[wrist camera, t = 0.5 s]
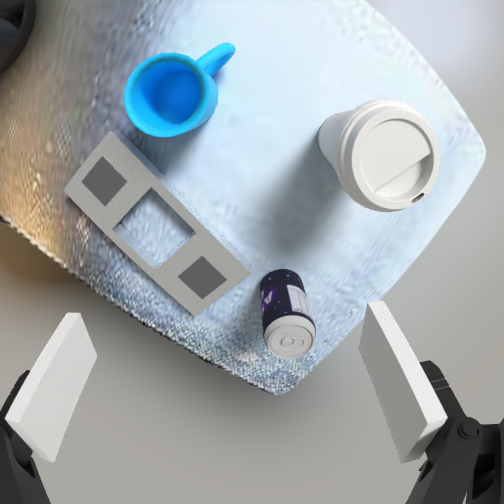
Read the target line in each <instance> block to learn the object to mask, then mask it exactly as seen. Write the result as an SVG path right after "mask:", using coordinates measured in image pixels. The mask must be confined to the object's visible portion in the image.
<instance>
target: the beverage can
mask: <svg viewBox="0 0 504 504" xmlns="http://www.w3.org/2000/svg"><path fill="white" fill-rule="evenodd" d="M260 295H261V310H262V324H263V338H264V342H265V344H266V345H267V347H268V348H269V350H270V352H271V353H272V354H273V355H275V356H276V357H279V358H282V359H295V358H299V357H301V356H303V355H305V354H306V353H307V352H309V351H310V349H311V348H312V346H313V344H314V338H315V335H316V329H315V325H314V321H313V318H312V314H311V311H310V307H309V304H308V300H307V297H306V293H305V290H304V286H303V283H302V280H301V278H300V277H299V275H298V274H296V273H295V272H293V271H291V270H287V269H278V270H274V271H272V272H270V273H269V274H267V275H266V276H265V277H264V278H263V280H262V282H261V285H260Z"/></svg>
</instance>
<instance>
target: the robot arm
mask: <svg viewBox="0 0 504 504" xmlns="http://www.w3.org/2000/svg"><path fill="white" fill-rule="evenodd" d="M35 9H36V8H35V0H0V74H1V73H2V72H3V71H5V70H6V69H7V68H8V67H9V66H10V65H11V64H12V63H13V62H14V61H15V59H16V58H17V57H18V55H19V54H20V52H21V51H22V49H23V47H24V46H25V44H26V42H27V40H28V37H29V35H30V32H31V30H32V27H33V23H34V18H35ZM359 350H360V353H361V355H362V358H363V360H364V363H365V365H366V368H367V370H368V373H369V375H370V378H371V381H372V383H373V385H374V389H375V391H376V394H377V396H378V399H379V402H380V405H381V407H382V410H383V413H384V415H385V418H386V421H387V424H388V426H389V429H390V432H391V435H392V438H393V441H394V443H395V446H396V449H397V452H398V455H399V458H400V461H401V464H402V463H406V462H409V461H413V460H416V459H419V458H420V457H421V456H422V454H423V453H424V452H426V455H427V457H428V459H427V460H426V461H425V463H424V464H423V465H422V466H421V468H420V469H419V471H421V473H420V475H419V478H418V480H417V482H416V484H415V486H414V488H413V490H412V492H411V494H410V496H409V498H408V500H407V502H406V504H462V503H463V500H464V498H465V495H466V492H467V496H466V504H504V418H503V420H502V421H501V422H500V424H488V425H487V424H486V425H483V424H480V423H479V422H478V421H477V420H475V419H473V418H471V417H467V416H466V415H465V413H464V412H463V410H462V408H461V406H460V404H459V402H458V401H457V399H456V397H455V395H454V393H453V391H452V390H451V388H450V387H449V384H448V383H447V381H446V380H445V378H444V376H443V374H442V372H441V370H440V369H439V368H438V367H437V366H436V365H435V364H434V363H433V362H431V361H430V360H429V361H424V362H418V360H417V358H416V356H415V354H414V353H413V351H412V349H411V347H410V345H409V344H408V342H407V340H406V338H405V337H404V335H403V333H402V331H401V330H400V328H399V326H398V325H397V323H396V322H395V320H394V318H393V316H392V315H391V313H390V311H389V310H388V308H387V306H386V305H385V303H384V301H378V302H368V304H367V309H366V315H365V320H364V325H363V330H362V336H361V340H360V345H359ZM96 358H97V354H96V352H95V349H94V347H93V345H92V342H91V340H90V337H89V335H88V333H87V330H86V328H85V325H84V322H83V320H82V317H81V314H80V313H67V314H66V315H65V317H64V318H63V320H62V322H61V323H60V325H59V326H58V327H57V329H56V331H55V332H54V334H53V335H52V337H51V338H50V340H49V341H48V343H47V345H46V346H45V348H44V350H43V351H42V353H41V354H40V356H39V358H38V359H37V361H36V363H35V364H34V366H33V368H32V369H31V371H29V370H27V371H25V373H23V374H22V375H21V376H20V377H19V379H18V380H17V382H16V384H15V385H14V388H13V389H12V391H11V393H10V395H9V396H8V398H7V400H6V402H5V403H4V405H3V407H2V409H1V411H0V504H51V503H50V501H49V498H48V496H47V494H46V491H45V489H44V486H43V484H42V481H41V479H40V476H39V473H38V470H37V468H36V465H35V462H34V460H33V458H32V457H31V455H32V452H34V453H35V454H36V455H37V456H38V457H39V458H40V459H43V460H47V461H50V462H53V463H54V462H55V459H56V456H57V453H58V450H59V448H60V445H61V442H62V440H63V437H64V434H65V432H66V429H67V426H68V424H69V421H70V419H71V416H72V414H73V411H74V409H75V406H76V404H77V401H78V399H79V397H80V394H81V392H82V390H83V387H84V385H85V383H86V380H87V378H88V376H89V373H90V371H91V369H92V367H93V365H94V362H95V360H96Z"/></svg>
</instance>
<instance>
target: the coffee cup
mask: <svg viewBox="0 0 504 504" xmlns="http://www.w3.org/2000/svg"><path fill="white" fill-rule="evenodd" d="M318 143H319V147H320V150H321V152H322V154H323V155H324V156H325V158H326V159H327V160H328V161H329V162H330V164H331V165H332V166H333V167H334V169H335V171H336V175H337V177H338V180H339V182H340V184H341V186H342V187H343V189H344V190H345V192H346V193H347V194H348V195H349V196H350V197H351V198H352V199H353V200H354V201H355V202H357V203H358V204H360V205H361V206H363V207H366V208H368V209H371V210H375V211H381V212H393V211H399V210H402V209H405V208H408V207H411V206H413V205H415V204H417V203H418V202H420V201H421V200H422V199H423V198H425V197H426V196H427V194H428V193H429V192H430V191H431V189H432V188H433V186H434V184H435V182H436V180H437V177H438V174H439V170H440V163H441V155H440V148H439V144H438V141H437V138H436V136H435V134H434V132H433V130H432V128H431V126H430V125H429V123H428V122H427V121H426V119H425V118H424V117H423V116H422V115H421V114H420V113H419V112H418V111H417V110H415V109H414V108H413V107H411V106H409V105H408V104H406V103H404V102H401V101H398V100H394V99H386V98H383V99H375V100H371V101H368V102H365V103H363V104H361V105H360V106H358V107H357V108H355V109H354V110H351V111H346V112H342V113H337V114H334V115H332V116H330V117H329V118H328V119H326V120H325V121H324V123H323V124H322V126H321V128H320V130H319V135H318Z"/></svg>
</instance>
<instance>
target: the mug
mask: <svg viewBox="0 0 504 504" xmlns="http://www.w3.org/2000/svg"><path fill="white" fill-rule="evenodd" d="M234 52H235V47H234V45H232V44H230V43H223V44H221V45H219V46H217V47H215V48H213V49H212V50H210V51H209V52H207V53H206V54H204V55H203V56H202V57H200V58H199V59H198V60H197V61H194V60H193V59H191V58H190V57H189V56H186V55H182V54H179V53H161V54H158V55H155V56H152V57H150V58H148V59H146V60H145V61H144V62H142V63H141V64H140V65H138V66H137V67H136V69H135V70H134V71H133V73H132V74H131V75H130V77H129V79H128V82H127V85H126V88H125V93H124V104H125V108H126V111H127V115H128V117H129V118H130V119H131V121H132V122H133V124H134V125H135V126H136V127H137V128H139V129H140V130H141V131H143V132H144V133H146V134H149V135H152V136H155V137H172V136H176V135H179V134H182V133H185V132H187V131H190V130H193V129H195V128H198V127H199V126H201V125H202V124H204V123H205V122H206V121H207V120H208V119H209V118H210V117H211V115H212V114H213V113H214V110H215V108H216V105H217V102H218V90H217V86H216V83H215V81H214V79H213V78H212V76H213V75H214V74H215V73H216V72H217V71H218V70H219V69H221V68H222V67H223V66H224V65H225V64H226V63H227V62H228V61H229V59H230V58H231V57H232V56H233V55H234Z"/></svg>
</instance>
